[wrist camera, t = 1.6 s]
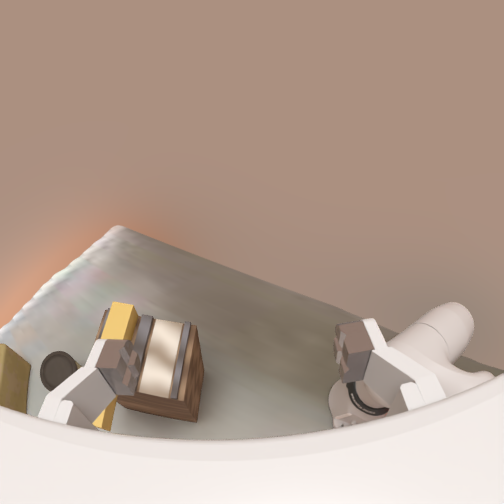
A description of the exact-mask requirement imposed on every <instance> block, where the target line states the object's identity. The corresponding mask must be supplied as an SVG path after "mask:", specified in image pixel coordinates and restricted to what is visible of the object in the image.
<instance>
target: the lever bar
mask: <svg viewBox="0 0 504 504" xmlns="http://www.w3.org/2000/svg"><path fill="white" fill-rule="evenodd" d="M137 320H138V314H137V312H136V310H135V308H134V305H129V304H124V303H119V302H113V303H112V306H111V309H110V312H109V315H108V318H107V321H106V324H105V327H104V330H103V333H102V336H101V339H121V340H131V341H132V337H133V333H134V330H135V326H136V323H137ZM117 396H118V395H116V397H115V398H114V399H113V400H112V401H111V403H110V404H109V405H108V406H107V407H106V408H105V409H104V411H103V412H102V413H101V414H100V415H99V416H98V417H97V419H96V420H95V421H94V422H93V423H92V424H93V425H94V426H95V427H98V428H101V429H104V430H107V431H110V430H111V425H112V420H113V415H114V410H115V406H116V401H117Z"/></svg>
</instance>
